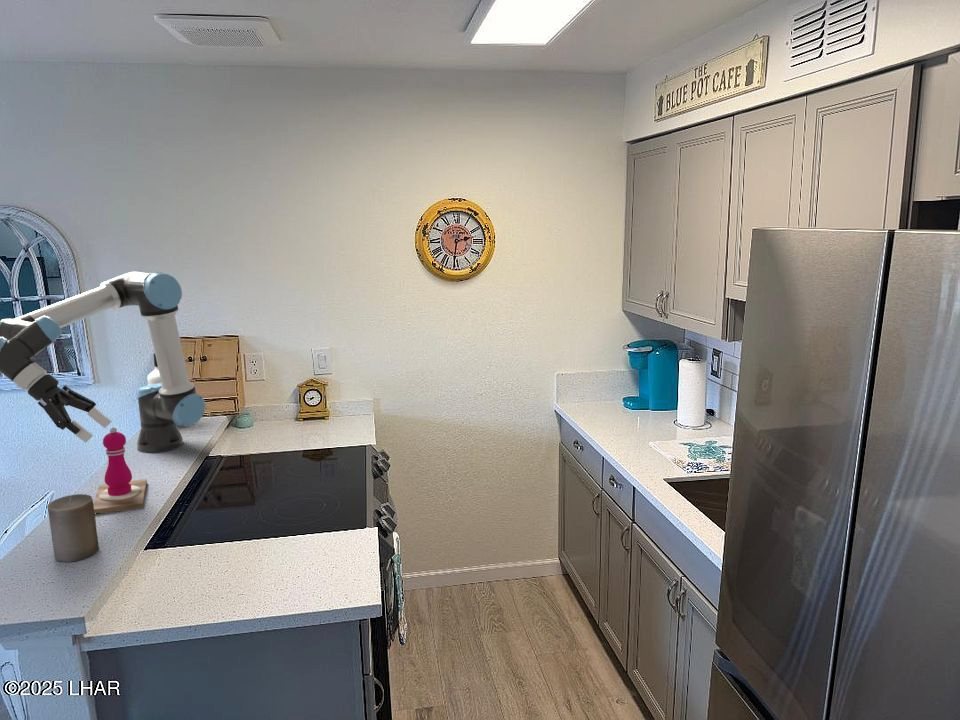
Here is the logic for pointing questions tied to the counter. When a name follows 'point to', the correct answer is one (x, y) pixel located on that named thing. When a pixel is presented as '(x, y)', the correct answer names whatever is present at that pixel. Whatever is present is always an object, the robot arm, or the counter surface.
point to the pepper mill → (116, 464)
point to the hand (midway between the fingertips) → (99, 431)
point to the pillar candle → (73, 527)
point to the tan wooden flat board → (120, 498)
